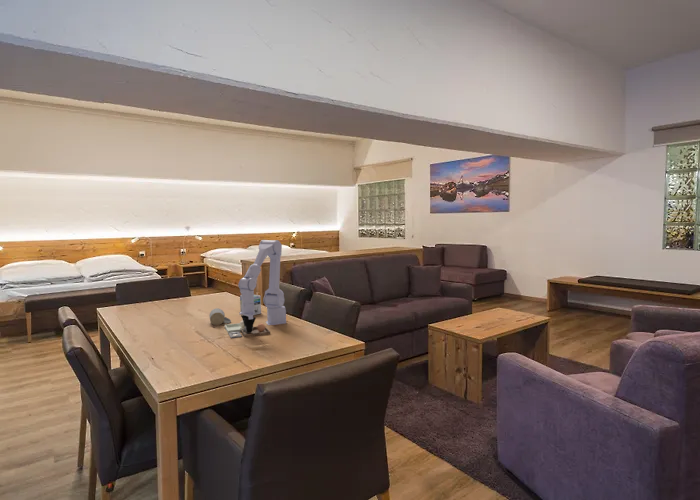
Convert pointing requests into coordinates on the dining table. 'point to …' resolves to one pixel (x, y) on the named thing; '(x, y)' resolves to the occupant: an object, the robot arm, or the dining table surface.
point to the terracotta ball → (261, 327)
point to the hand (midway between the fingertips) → (248, 330)
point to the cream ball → (242, 324)
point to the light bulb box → (256, 304)
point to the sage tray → (233, 328)
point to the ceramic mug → (218, 317)
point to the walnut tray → (255, 332)
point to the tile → (235, 335)
